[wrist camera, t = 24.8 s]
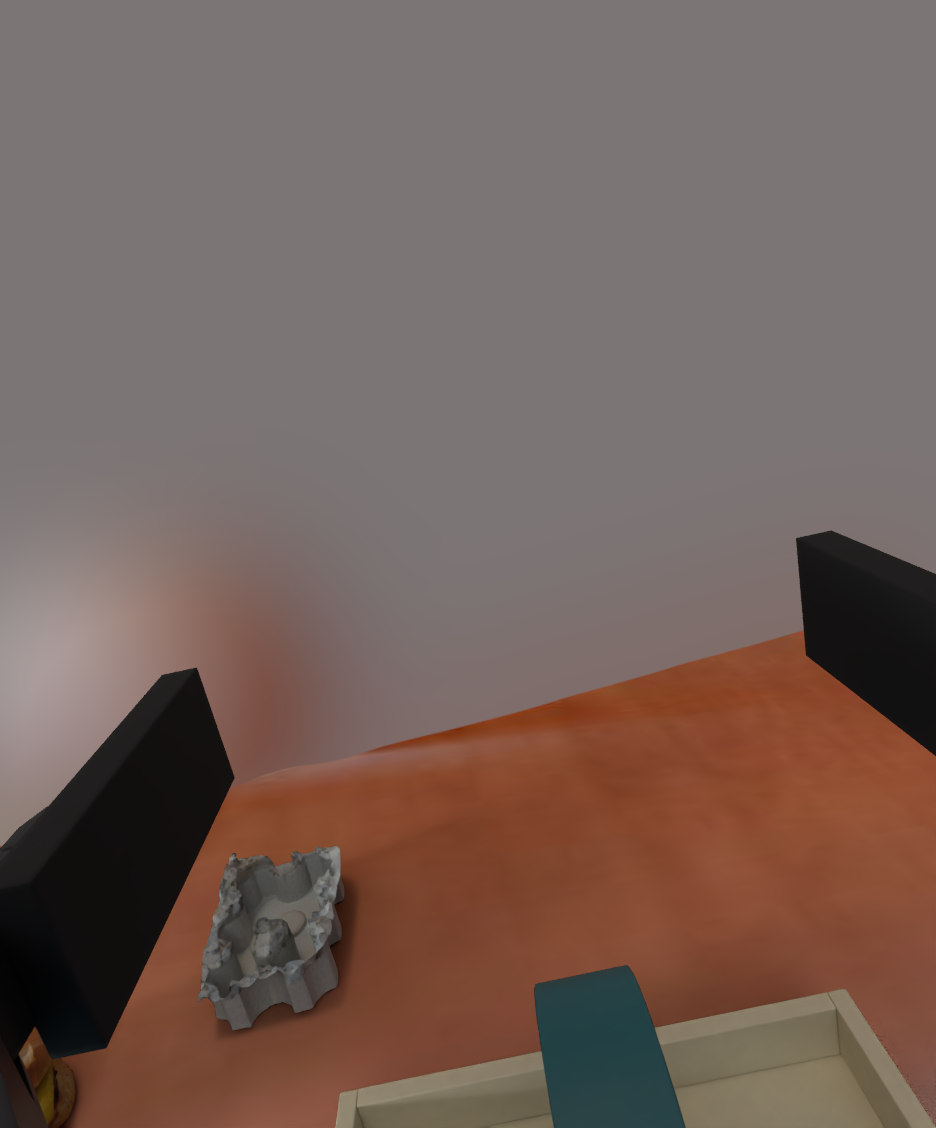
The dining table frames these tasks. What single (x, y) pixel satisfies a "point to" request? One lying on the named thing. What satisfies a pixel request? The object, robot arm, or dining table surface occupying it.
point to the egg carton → (273, 935)
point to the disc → (603, 1054)
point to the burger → (49, 1080)
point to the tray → (688, 1078)
